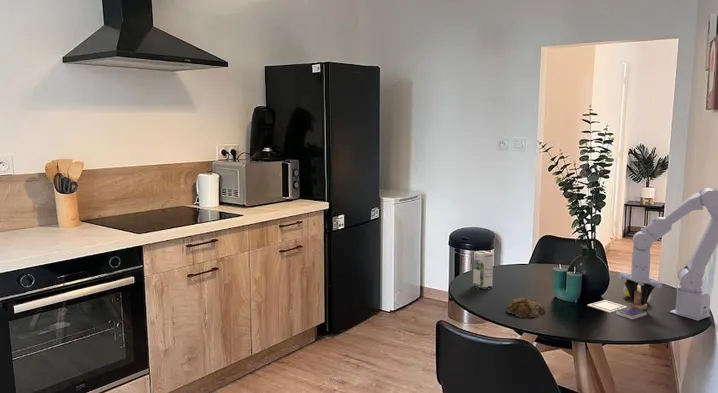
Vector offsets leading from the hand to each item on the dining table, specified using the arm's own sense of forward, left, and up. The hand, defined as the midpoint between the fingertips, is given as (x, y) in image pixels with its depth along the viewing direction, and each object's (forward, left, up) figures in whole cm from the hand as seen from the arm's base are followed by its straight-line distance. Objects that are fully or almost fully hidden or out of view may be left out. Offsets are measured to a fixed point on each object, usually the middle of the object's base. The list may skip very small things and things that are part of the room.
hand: (638, 302), depth 194 cm
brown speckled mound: (+19, +36, -3) cm, 41 cm away
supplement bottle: (+10, -10, +1) cm, 15 cm away
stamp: (0, 0, -2) cm, 2 cm away
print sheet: (+7, +8, -2) cm, 10 cm away
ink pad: (-2, +8, -2) cm, 9 cm away
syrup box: (+49, +28, -2) cm, 56 cm away
